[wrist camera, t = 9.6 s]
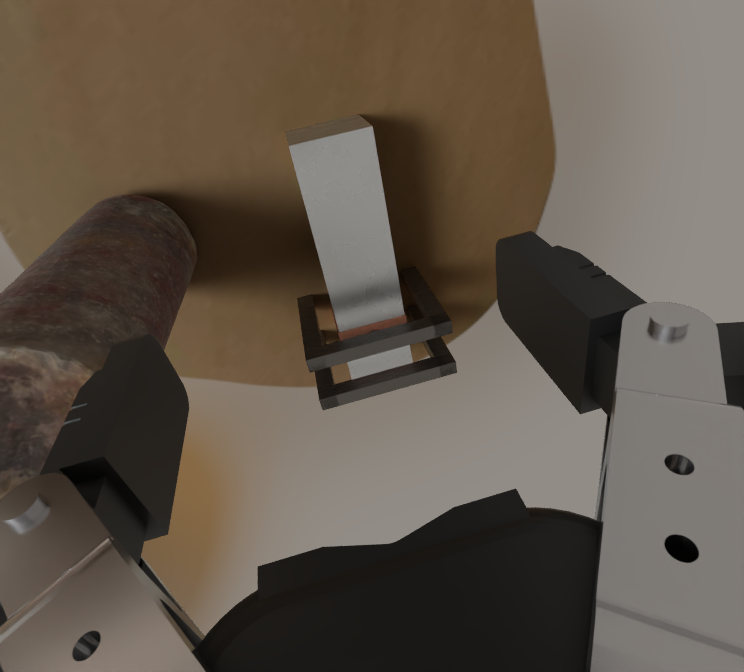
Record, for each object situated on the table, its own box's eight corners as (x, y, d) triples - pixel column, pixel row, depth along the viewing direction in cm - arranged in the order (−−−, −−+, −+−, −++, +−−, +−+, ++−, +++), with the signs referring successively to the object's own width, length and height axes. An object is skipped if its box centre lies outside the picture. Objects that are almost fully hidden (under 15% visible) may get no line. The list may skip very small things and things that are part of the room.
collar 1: (297, 298, 38) (305, 360, 30) (415, 267, 38) (451, 320, 31) (300, 308, 38) (309, 372, 31) (416, 277, 39) (452, 333, 32)
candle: (57, 207, 31) (-182, 408, 14) (163, 170, 31) (50, 327, 14) (123, 302, 35) (0, 542, 18) (216, 270, 35) (176, 480, 18)
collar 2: (308, 333, 40) (319, 400, 32) (420, 303, 40) (455, 361, 33) (311, 343, 40) (322, 410, 33) (422, 313, 41) (456, 372, 33)
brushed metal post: (283, 131, 31) (287, 147, 27) (359, 113, 31) (374, 126, 27) (342, 347, 41) (351, 383, 37) (399, 331, 41) (415, 366, 37)
